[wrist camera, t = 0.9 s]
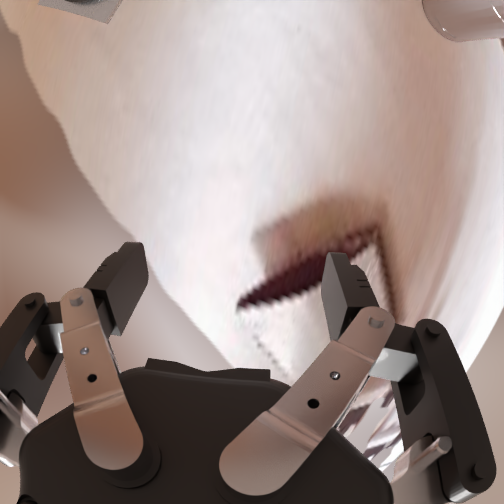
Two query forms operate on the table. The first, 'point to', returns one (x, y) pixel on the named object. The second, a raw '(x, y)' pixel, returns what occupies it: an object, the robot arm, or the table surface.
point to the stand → (86, 7)
